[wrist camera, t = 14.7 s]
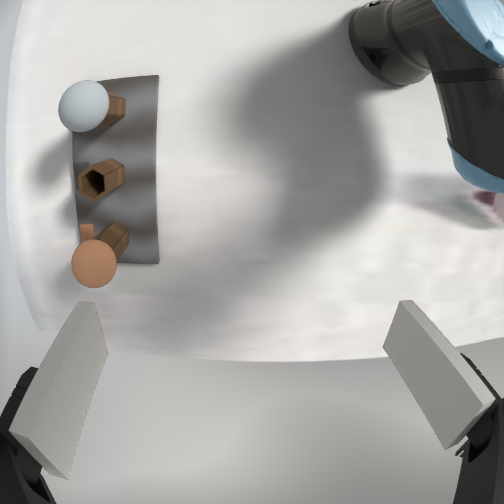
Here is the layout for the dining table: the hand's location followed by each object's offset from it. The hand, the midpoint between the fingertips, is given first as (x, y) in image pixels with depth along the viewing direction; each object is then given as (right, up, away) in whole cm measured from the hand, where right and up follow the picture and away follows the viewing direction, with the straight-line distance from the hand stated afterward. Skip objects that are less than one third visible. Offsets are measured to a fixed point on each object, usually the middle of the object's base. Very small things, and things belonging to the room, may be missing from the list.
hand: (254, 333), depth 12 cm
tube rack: (-20, +15, +27) cm, 37 cm away
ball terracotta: (-20, +3, +24) cm, 31 cm away
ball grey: (-19, +20, +16) cm, 32 cm away
